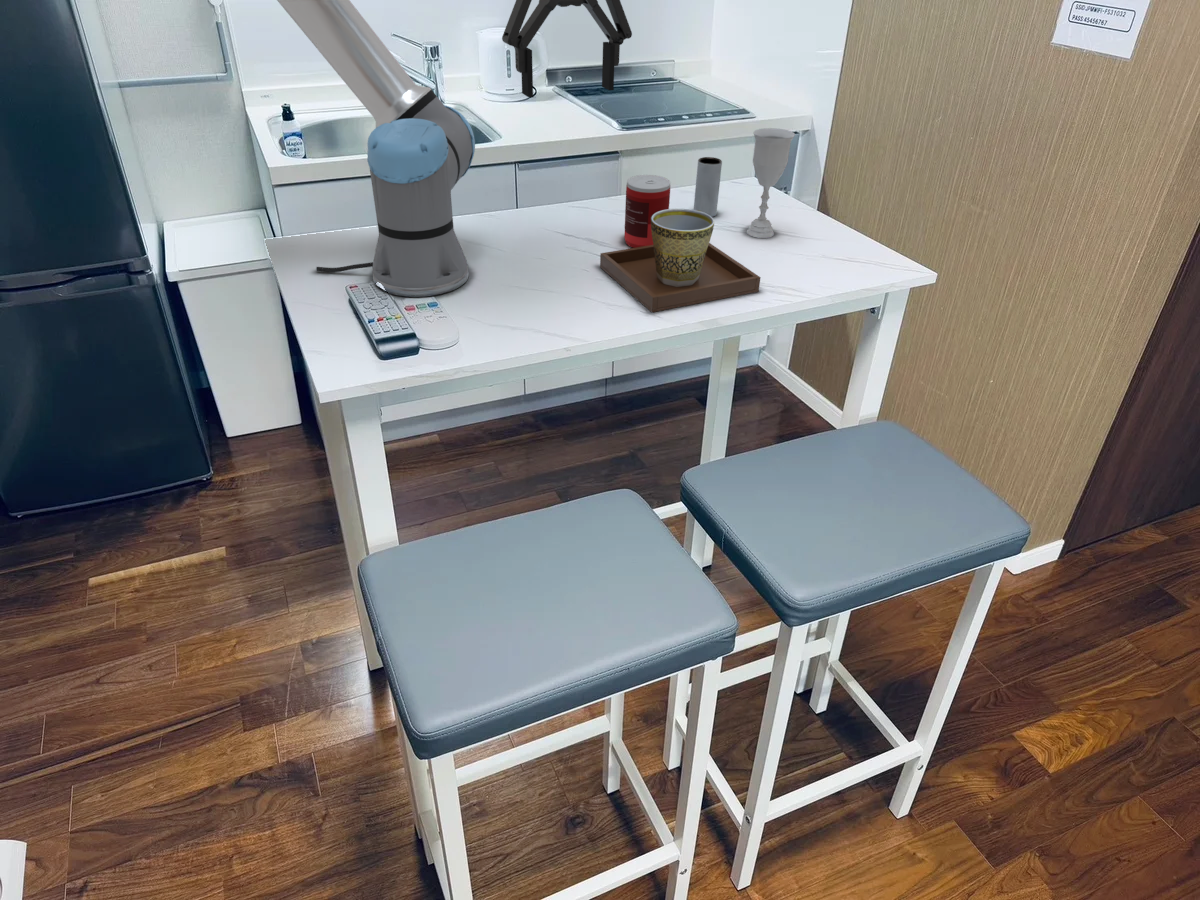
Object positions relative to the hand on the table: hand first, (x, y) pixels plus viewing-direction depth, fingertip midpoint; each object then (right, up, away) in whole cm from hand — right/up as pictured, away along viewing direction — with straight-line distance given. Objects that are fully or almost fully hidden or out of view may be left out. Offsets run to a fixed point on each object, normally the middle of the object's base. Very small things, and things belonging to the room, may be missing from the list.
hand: (568, 92), depth 130 cm
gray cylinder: (+25, -10, +34) cm, 44 cm away
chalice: (+35, -15, +26) cm, 46 cm away
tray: (+18, -27, +8) cm, 34 cm away
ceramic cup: (+18, -27, +8) cm, 34 cm away
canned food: (+13, -18, +21) cm, 31 cm away
